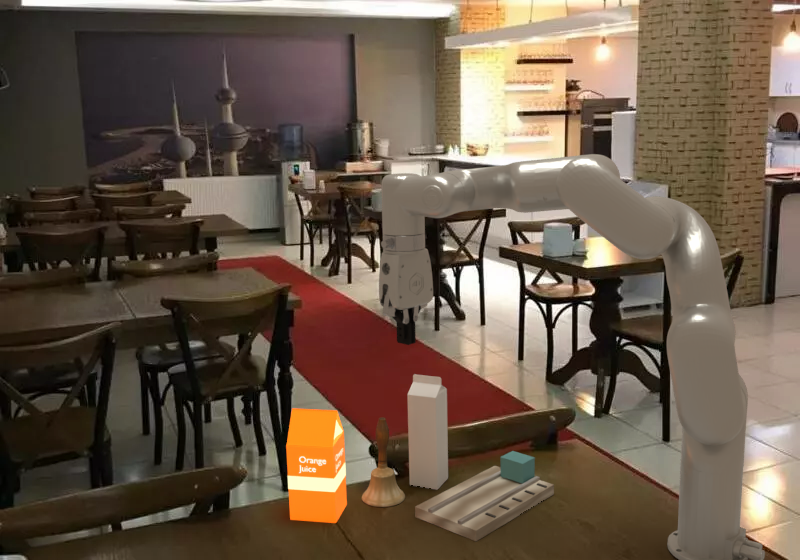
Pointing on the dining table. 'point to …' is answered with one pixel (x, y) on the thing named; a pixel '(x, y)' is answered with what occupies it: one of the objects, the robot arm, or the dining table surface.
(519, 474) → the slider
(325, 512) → the orange juice
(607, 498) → the dining table surface
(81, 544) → the dining table surface
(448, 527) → the count board
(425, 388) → the milk
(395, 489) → the hand bell
